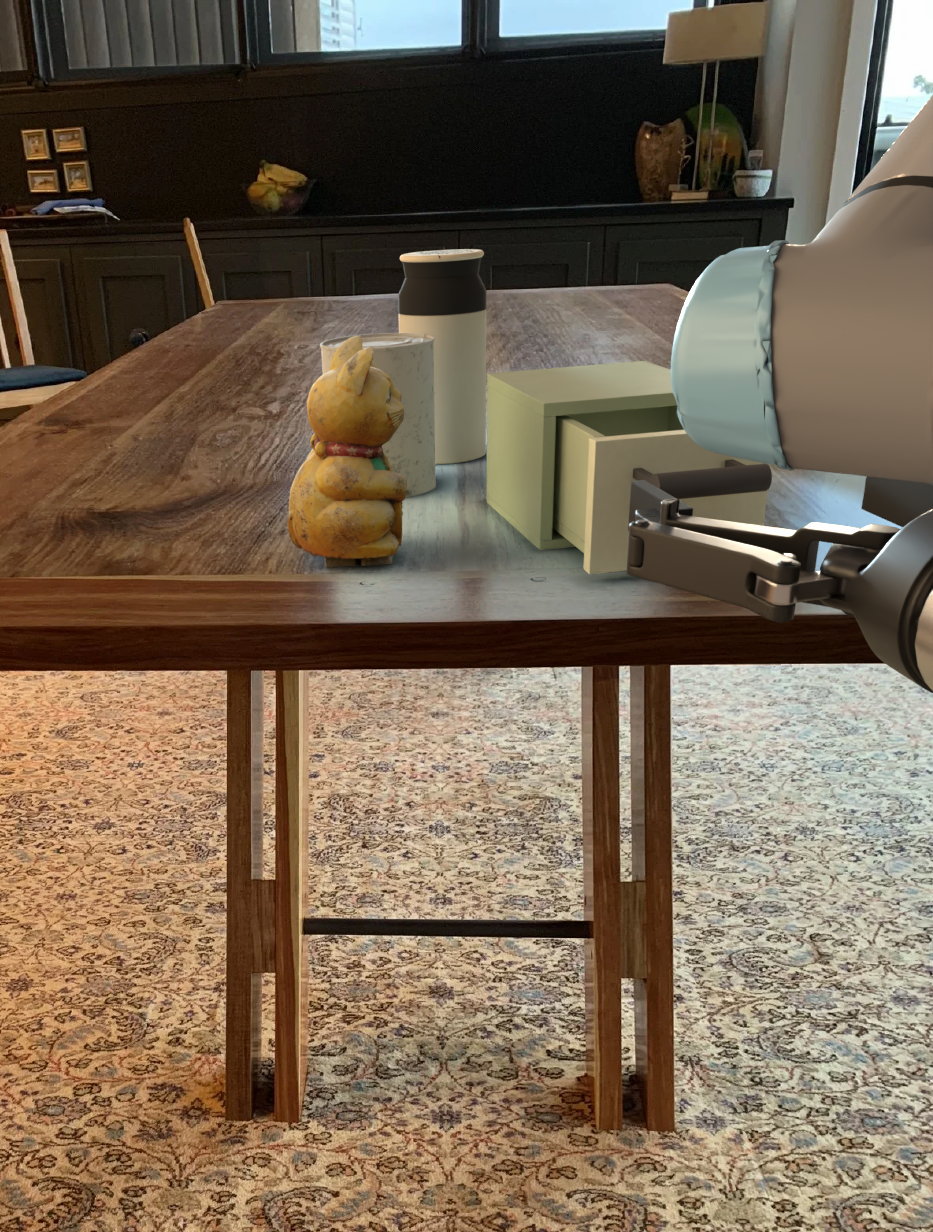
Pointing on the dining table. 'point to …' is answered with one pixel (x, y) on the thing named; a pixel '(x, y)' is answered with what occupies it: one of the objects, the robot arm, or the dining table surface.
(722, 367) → the robot arm
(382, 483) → the decorative figurine
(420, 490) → the white can
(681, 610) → the dining table surface
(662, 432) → the drawer
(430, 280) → the travel mug
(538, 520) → the cabinet
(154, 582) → the dining table surface
